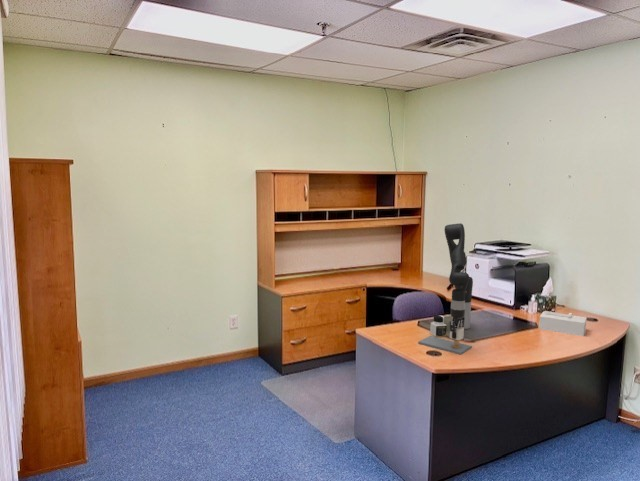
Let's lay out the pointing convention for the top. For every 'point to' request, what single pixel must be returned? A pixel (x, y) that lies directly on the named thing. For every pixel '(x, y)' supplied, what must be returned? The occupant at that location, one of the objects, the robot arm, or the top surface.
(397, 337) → the top surface
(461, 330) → the beige cube block
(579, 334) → the tissue box
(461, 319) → the robot arm
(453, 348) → the board
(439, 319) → the medicine bottle
